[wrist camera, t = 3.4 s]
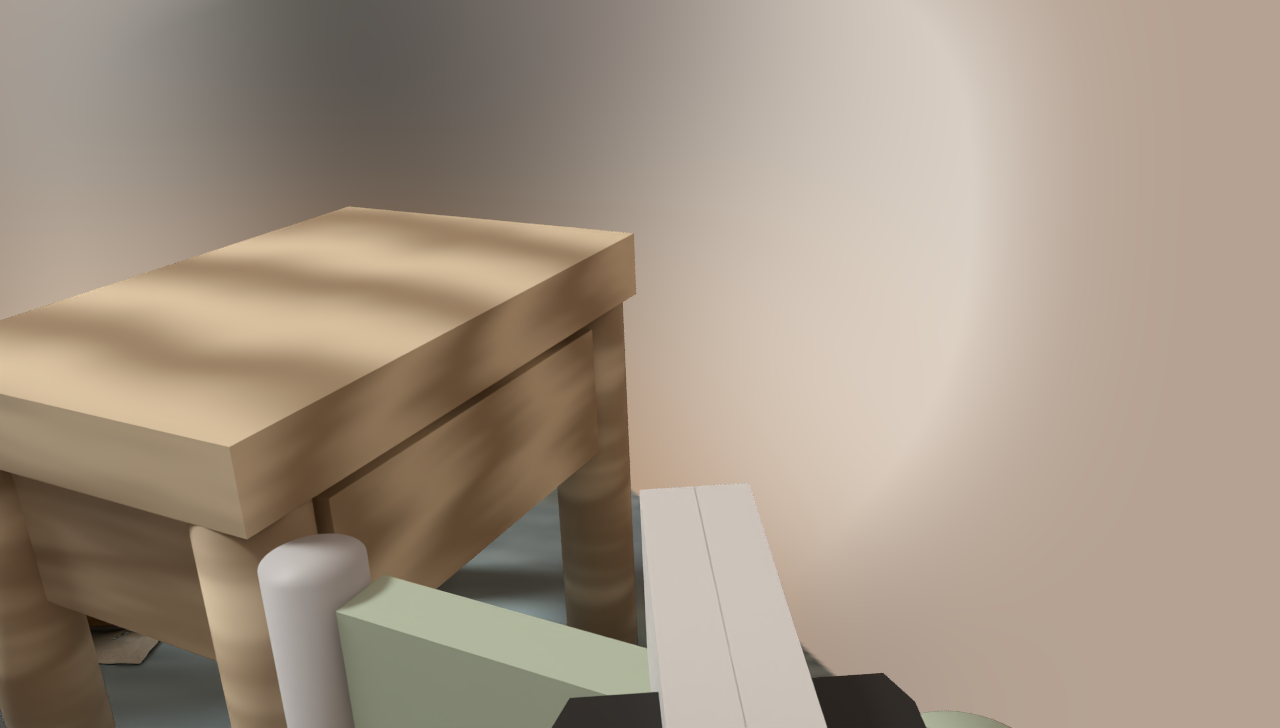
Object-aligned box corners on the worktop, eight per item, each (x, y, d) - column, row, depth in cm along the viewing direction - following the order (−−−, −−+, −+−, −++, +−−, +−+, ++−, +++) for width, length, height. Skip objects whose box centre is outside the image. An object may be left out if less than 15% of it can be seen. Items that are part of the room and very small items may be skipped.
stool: (339, 1011, 31) (228, 446, 24) (26, 850, 37) (-131, 363, 30) (649, 631, 47) (633, 233, 41) (397, 562, 53) (348, 206, 47)
